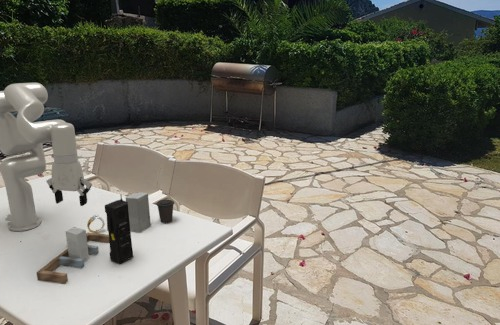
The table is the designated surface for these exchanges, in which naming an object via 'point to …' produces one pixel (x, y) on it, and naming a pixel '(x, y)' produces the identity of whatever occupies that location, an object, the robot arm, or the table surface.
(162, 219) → the coffee cup
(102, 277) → the table surface
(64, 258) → the slot rack
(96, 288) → the table surface
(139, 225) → the skincare box
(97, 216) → the ring
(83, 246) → the skincare box
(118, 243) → the portable radio
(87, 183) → the robot arm
